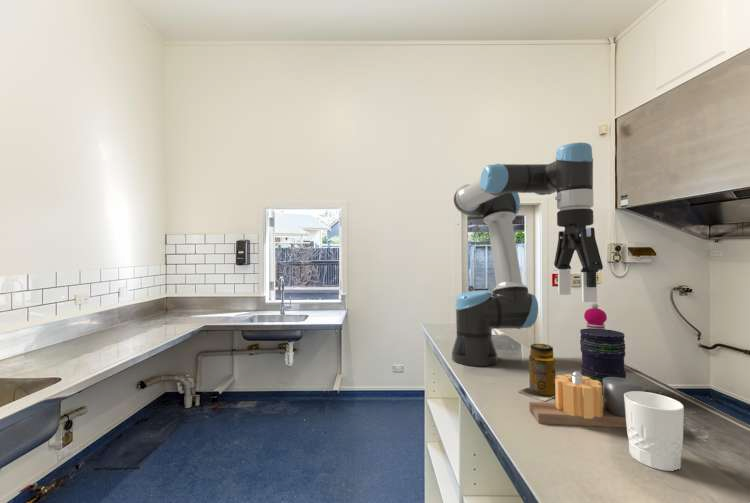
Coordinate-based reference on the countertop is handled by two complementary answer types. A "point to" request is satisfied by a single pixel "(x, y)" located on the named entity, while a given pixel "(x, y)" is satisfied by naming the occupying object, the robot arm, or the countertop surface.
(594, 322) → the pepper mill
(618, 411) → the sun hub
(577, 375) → the steel pin
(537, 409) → the carrier bar
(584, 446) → the countertop surface
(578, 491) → the countertop surface
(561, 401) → the planet gear
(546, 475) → the countertop surface
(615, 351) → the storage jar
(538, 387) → the condiment
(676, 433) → the white cup
